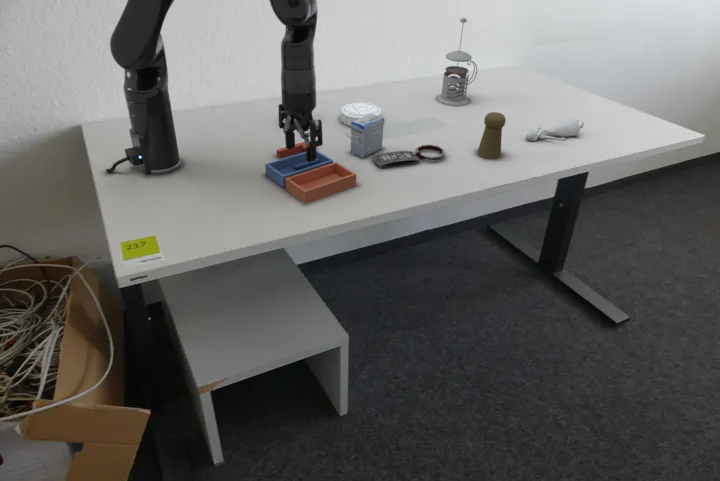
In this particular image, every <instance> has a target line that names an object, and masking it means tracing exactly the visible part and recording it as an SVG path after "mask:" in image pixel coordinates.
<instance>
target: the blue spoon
mask: <svg viewBox="0 0 720 481" xmlns="http://www.w3.org/2000/svg"><path fill="white" fill-rule="evenodd" d="M316 164H320V160H319V159H318V158H316V160H315V161H312V162H308V161H305V162H302V163H299V164H296V165H293V168H291V167H286V168H282V169H281V170H280V173H282V174H283V175H285V174H288V173H291V172H295V171H298V170H301V169H304V168H307V167H310V166H313V165H316Z"/></svg>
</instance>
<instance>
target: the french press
mask: <svg viewBox="0 0 720 481" xmlns="http://www.w3.org/2000/svg"><path fill="white" fill-rule="evenodd" d="M459 22H460V23H462V28H461V32H464V31H463V30H464V23H467V22H468V19H467V18H466V17H461V18H460V19H459ZM462 38H463V33H461V34H460V40H463V39H462ZM461 45H462V41H460V43H459V47H462V46H461ZM445 58H446V59H447V60H449V61H451V62H457V65H451V66H450V65H449V66H447V67H445V72H444V73H443V78H442V87H441V94H440V95H439V96H438V97H437V101H438V102H440V103H441V104H445V105H448V106H464V105H466V104H468V103H469V100H468V98H467V90H468V86H469V85H470V84H472V83H473V82H474V81H475V79H476V77H477V75H478V66H477V64H476V63H475V62H474V61H473V60H472V59H473V56H472V55H471V54H469V53H468V52H467V51H463V50H461V48H459V49H458V50H453V51H450V52H448V53H445ZM465 62H467V63H466V64H467V66H470V65H471V64H472V65H473V73H472V76H471V77H470V75H469V74H468V73H469V70H470V69H468V68H467V67H463V66H459V63H465ZM475 70H476V71H475ZM450 75H451V76H450ZM455 75H456V76H455ZM474 75H475V76H474ZM458 76H459V77H458ZM473 77H474V78H473ZM472 79H473V80H472ZM471 80H472V81H471Z"/></svg>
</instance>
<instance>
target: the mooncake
mask: <svg viewBox="0 0 720 481" xmlns="http://www.w3.org/2000/svg"><path fill="white" fill-rule="evenodd" d="M369 114H374V115H377V116H380V117H382V115H383V111H382V109H381V107H380V106H378V105H375V104H373V103H369V102H350V103H347V104H345V105H343V106H342V107H341V108H340V110H339V119H340V121H341V123H343V124H344V125H346V126H348V127H351V124H352V122H353V121H355V120H357V119H359V118H362V117H364V116H366V115H369ZM382 118H383V117H382Z"/></svg>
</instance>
